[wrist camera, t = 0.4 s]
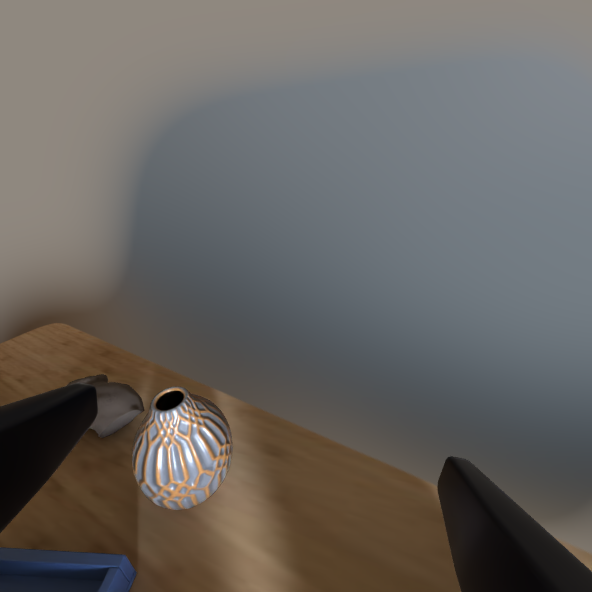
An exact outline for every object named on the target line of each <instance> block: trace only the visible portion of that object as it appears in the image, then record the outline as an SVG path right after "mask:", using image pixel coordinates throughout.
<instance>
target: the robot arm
mask: <svg viewBox="0 0 592 592" xmlns="http://www.w3.org/2000/svg"><path fill="white" fill-rule="evenodd" d="M97 415H98V403H97V392H96V388H95V387H94V386H93V385H90V384H85V383H74V384H71V385H68V386H65V387H61V388H58V389H55V390H52V391H49V392H45V393H42V394H39V395H36V396H33V397H29V398H26V399H23V400H20V401H16V402H13V403H10V404H7V405H4V406H0V533H1V532H2V531H3V530H4V529H5V527H6V526H7V525H8V524H9V523H10V522H11V521H12V520H13V519H14V518H15V516H16V515H17V514H18V513H19V512H20V511H21V510H22V509H23V508H24V506H25V505H26V504H27V503H28V502H29V501H30V500H31V499H32V498H33V497H34V495H35V494H36V493H37V492H38V491H39V490H40V489H41V488H42V487H43V485H44V484H45V483H46V482H47V481H48V480H49V478H50V477H51V476H52V475H53V473H54V472H55V471H56V470H57V469H58V467H59V466H60V465H61V463H62V462H63V461H64V460H65V458H66V457H67V456H68V454H69V453H70V452H71V451H72V449H73V448H74V447H75V445H76V444H77V443H78V442H79V440H80V439H81V438H82V436H83V435H84V434H85V433H86V431H87V430H88V429H89V428H90V426H91V425H92V424H93V422H94V421H95V419H96V417H97ZM438 495H439V500H440V504H441V509H442V514H443V518H444V523H445V527H446V532H447V536H448V541H449V545H450V550H451V555H452V559H453V563H454V567H455V571H456V575H457V579H458V582H459V586H460V589H461V592H592V572H591V571H590V570H589V569H588V568H587V567H586V566H585V565H584V564H583V563H582V562H580V561H579V560H578V559H577V558H576V557H575V556H574V555H573V554H572V553H570V552H569V551H568V550H567V549H566V548H565V547H564V546H563V545H562V544H561V543H559V542H558V541H557V540H556V539H555V538H554V537H553V536H552V535H551V534H549V533H548V532H547V531H546V530H545V529H544V528H543V527H542V526H541V525H540V524H538V523H537V522H536V521H535V520H534V519H533V518H532V517H531V516H530V515H528V514H527V513H526V512H525V511H524V510H523V509H522V508H521V507H520V506H518V505H517V504H516V503H515V502H514V501H513V500H512V499H511V498H510V497H509V496H507V495H506V494H505V493H504V492H503V491H502V490H501V489H499V488H498V486H496V485H495V484H494V483H493V482H492V481H491V480H490V479H489V478H488V477H486V476H485V475H484V474H483V473H482V472H481V471H480V470H479V469H478V468H476V467H475V466H474V465H473V464H472V463H471V462H470V461H468V460H466V459H462V458H457V457H452V456H451V457H448V458H447V459H446V461H445V464H444V467H443V469H442V472H441V475H440V478H439V480H438Z"/></svg>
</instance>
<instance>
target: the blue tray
mask: <svg viewBox="0 0 592 592" xmlns="http://www.w3.org/2000/svg"><path fill="white" fill-rule="evenodd" d="M136 574H137V572H136V571H135V569H134V568H133V566H132V565H131V563H130V561H129V560H128V558H127V557H126V555H122V554H105V553H88V552H70V551H53V550H36V549H19V548H2V547H0V592H129V590H130V588H131V586H132V583H133V581H134V579H135V576H136Z"/></svg>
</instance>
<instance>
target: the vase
mask: <svg viewBox="0 0 592 592" xmlns="http://www.w3.org/2000/svg"><path fill="white" fill-rule="evenodd" d="M232 449H233V446H232V436H231V431H230V427H229V424H228V422H227V419H226V418H225V416H224V414H223V413H222V412H221V410H220V409H219V408H218V407H217V406H216V405H215V404H214V403H213V402H211V401H210V400H208V399H206V398H204V397H201V396H198V395H195V394H191V393H190V392H189V391H187V390H186V389H185V388H183V387H170V388H167V389H165V390H163V391H161V392H160V393H158V394H157V395H156V396H155V397H154V398H153V400H152V402H151V405H150V410H149V412H148V414H147V415H146V417H145V418H144V420H143V422H142V423H141V425H140V427H139V429H138V431H137V433H136V436H135V439H134V443H133V449H132V466H133V472H134V476H135V478H136V481H137V483H138V485H139V487H140V489H141V490H142V492H143V493H144V494H145V496H146V497H147V498H148V499H150V500H151V501H152V502H153V503H155V504H157V505H159V506H161V507H163V508H166V509H172V510H182V509H187V508H191V507H193V506H196V505H198V504H200V503H201V502H203V501H205V500H206V499H207V498H209V497H210V496H211V495H212V494H213V493H214V492H215V491H216V490H217V489H218V488H219V486H220V485H221V483H222V482H223V480H224V478H225V476H226V474H227V472H228V469H229V466H230V462H231V458H232Z"/></svg>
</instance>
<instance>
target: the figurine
mask: <svg viewBox="0 0 592 592" xmlns="http://www.w3.org/2000/svg"><path fill="white" fill-rule="evenodd" d="M107 382H108V378H107V376H106V375H104V374H101V375H97V376H89V377H85V378H81V379H77V380H74V381H72V382H70V383H69V384H68V385H71V384H74V383H85V384H90V385H93V386H94V387H95V388H96V392H97V403H98V415H97V417H96V419H95V421H94V422H93V424H92V425H91V426H90V429H93V430H95V431H96V432H97V433H98V437H101V438H104V437H106V436H109V435H111V434H113V433H115V432H117V431H118V430H119V429H121V428H122V427H123V426H125V425H127V424H128V423H129V422H131V421H132V420H133V419H134V418H135V417H136V416H137V415H138V414H140V413H141V412H143V411H144V406H143V402H142V399H141V397H140V396H139V395H138V393H137V392H136V391H135V390H134V389H133V388H132V387H130V386H129V385H127V384H121V383H115V382H109V383H107ZM68 385H67V386H68Z"/></svg>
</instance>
